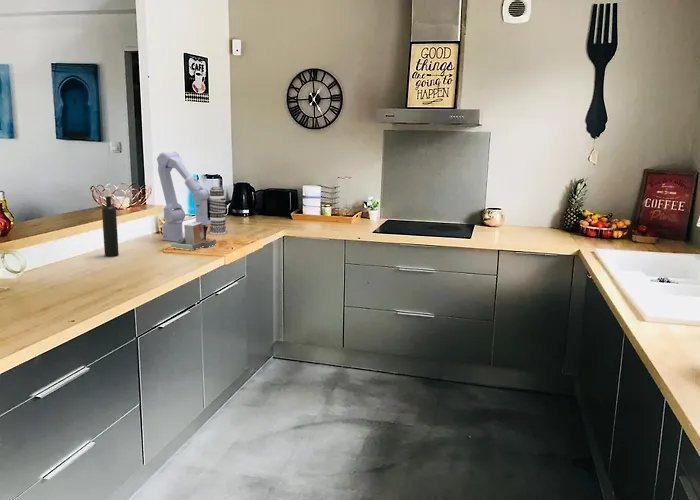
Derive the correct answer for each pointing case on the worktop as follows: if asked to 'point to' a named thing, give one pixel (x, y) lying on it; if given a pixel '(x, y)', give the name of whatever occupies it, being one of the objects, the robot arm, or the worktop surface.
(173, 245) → the keyhole jig
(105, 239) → the wine bottle
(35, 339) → the worktop surface
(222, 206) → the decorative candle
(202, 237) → the small box
